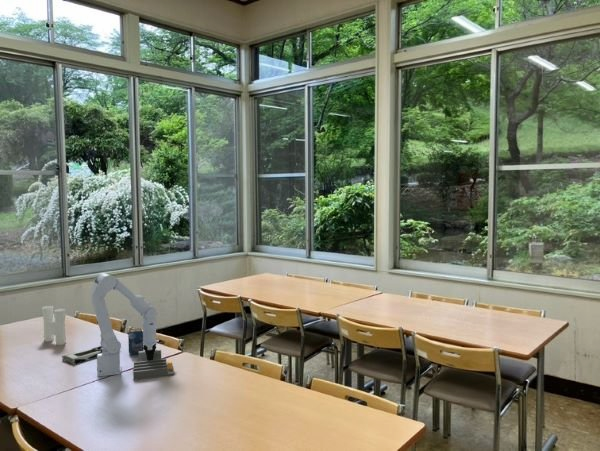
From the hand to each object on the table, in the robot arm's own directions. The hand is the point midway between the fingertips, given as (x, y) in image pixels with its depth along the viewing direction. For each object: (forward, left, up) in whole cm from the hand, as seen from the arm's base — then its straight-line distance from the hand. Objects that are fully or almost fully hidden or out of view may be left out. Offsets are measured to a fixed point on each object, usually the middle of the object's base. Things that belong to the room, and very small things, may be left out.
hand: (150, 360), depth 220 cm
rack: (+1, -12, -1) cm, 13 cm away
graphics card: (-27, +20, -2) cm, 33 cm away
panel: (0, 0, -2) cm, 2 cm away
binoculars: (-49, +51, -2) cm, 70 cm away
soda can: (-7, +16, -2) cm, 17 cm away
